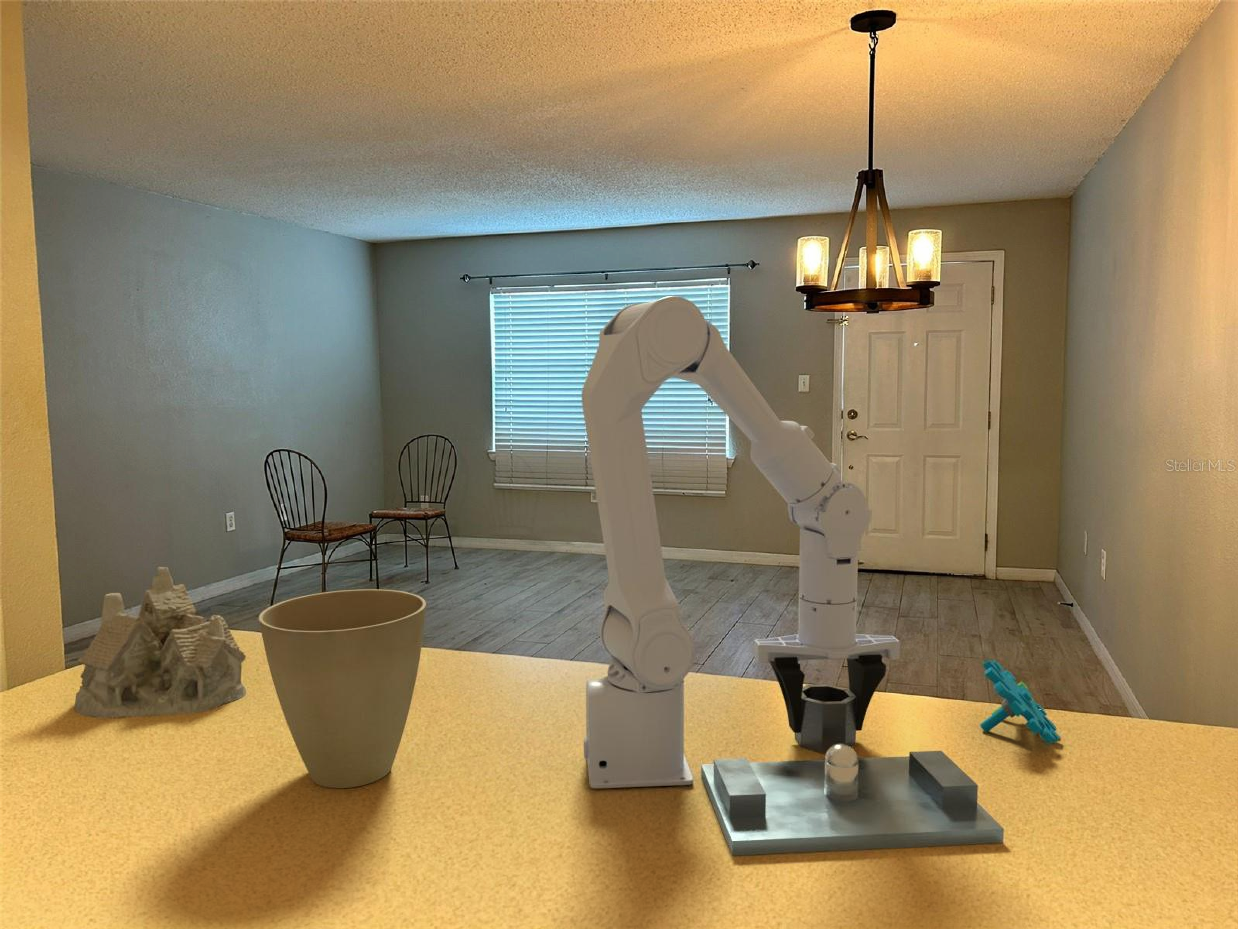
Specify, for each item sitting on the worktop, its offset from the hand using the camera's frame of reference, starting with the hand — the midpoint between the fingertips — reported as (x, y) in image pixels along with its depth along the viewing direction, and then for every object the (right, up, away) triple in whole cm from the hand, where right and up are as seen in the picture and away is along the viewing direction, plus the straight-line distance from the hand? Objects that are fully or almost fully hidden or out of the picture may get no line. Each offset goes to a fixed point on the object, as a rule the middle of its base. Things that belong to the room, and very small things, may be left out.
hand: (825, 728), depth 92 cm
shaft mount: (-2, -3, -14) cm, 14 cm away
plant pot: (-47, -2, -7) cm, 47 cm away
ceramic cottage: (-74, -1, +13) cm, 76 cm away
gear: (+21, -2, +2) cm, 21 cm away
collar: (0, -1, 0) cm, 1 cm away
